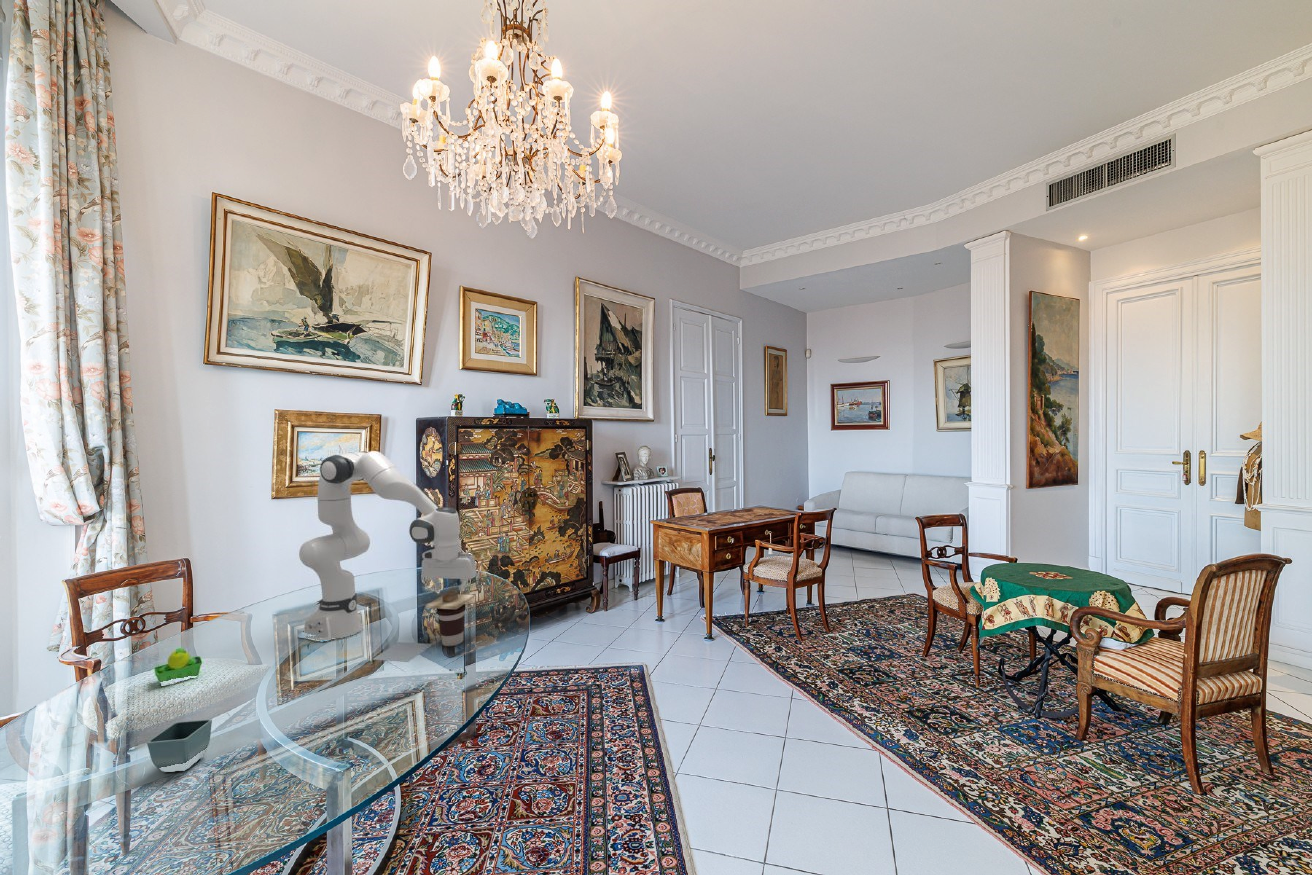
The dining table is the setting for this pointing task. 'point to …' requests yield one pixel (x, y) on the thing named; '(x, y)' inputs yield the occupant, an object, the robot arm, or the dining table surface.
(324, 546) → the robot arm
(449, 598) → the lid
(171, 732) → the flower pot
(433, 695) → the dining table surface
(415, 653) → the mat
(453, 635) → the coffee cup
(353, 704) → the dining table surface
